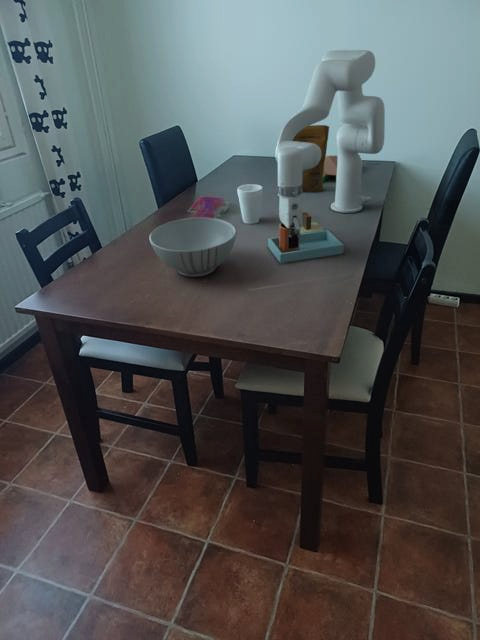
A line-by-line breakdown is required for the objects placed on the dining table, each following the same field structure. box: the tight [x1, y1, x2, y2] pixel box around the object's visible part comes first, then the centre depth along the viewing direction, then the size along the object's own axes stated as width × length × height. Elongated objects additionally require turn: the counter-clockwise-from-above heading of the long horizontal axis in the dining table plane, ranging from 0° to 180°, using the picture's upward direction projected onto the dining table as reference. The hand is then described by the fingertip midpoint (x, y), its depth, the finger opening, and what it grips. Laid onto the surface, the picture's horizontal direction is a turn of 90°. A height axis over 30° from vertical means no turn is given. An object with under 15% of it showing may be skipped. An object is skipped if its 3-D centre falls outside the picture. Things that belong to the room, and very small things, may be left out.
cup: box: [278, 222, 300, 253], centre depth 156 cm, size 7×7×10 cm
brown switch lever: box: [302, 211, 312, 230], centre depth 168 cm, size 5×2×5 cm, turn 14°
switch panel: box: [300, 221, 324, 234], centre depth 170 cm, size 12×9×3 cm
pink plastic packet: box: [187, 196, 232, 219], centre depth 191 cm, size 30×15×5 cm, turn 167°
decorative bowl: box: [148, 216, 238, 278], centre depth 149 cm, size 27×27×12 cm
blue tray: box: [267, 229, 345, 264], centre depth 159 cm, size 22×14×3 cm, turn 103°
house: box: [322, 155, 338, 182], centre depth 231 cm, size 23×33×8 cm
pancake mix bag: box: [293, 124, 330, 193], centre depth 205 cm, size 7×19×28 cm, turn 75°
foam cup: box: [236, 183, 264, 225], centre depth 182 cm, size 10×9×13 cm
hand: (289, 242), depth 156 cm, fingers closed on cup, 6 cm apart
